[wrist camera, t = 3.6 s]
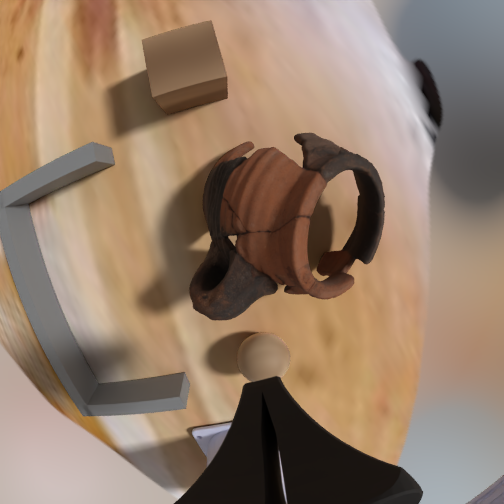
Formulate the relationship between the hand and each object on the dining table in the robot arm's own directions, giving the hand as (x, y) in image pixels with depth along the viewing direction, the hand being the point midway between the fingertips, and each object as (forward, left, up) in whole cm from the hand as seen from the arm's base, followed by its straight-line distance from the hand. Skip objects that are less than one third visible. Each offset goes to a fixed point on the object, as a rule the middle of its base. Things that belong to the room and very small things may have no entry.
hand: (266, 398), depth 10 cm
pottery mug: (+5, -3, -10) cm, 12 cm away
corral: (+4, +10, -10) cm, 14 cm away
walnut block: (+16, 0, -10) cm, 18 cm away
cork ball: (-3, 0, -10) cm, 10 cm away
